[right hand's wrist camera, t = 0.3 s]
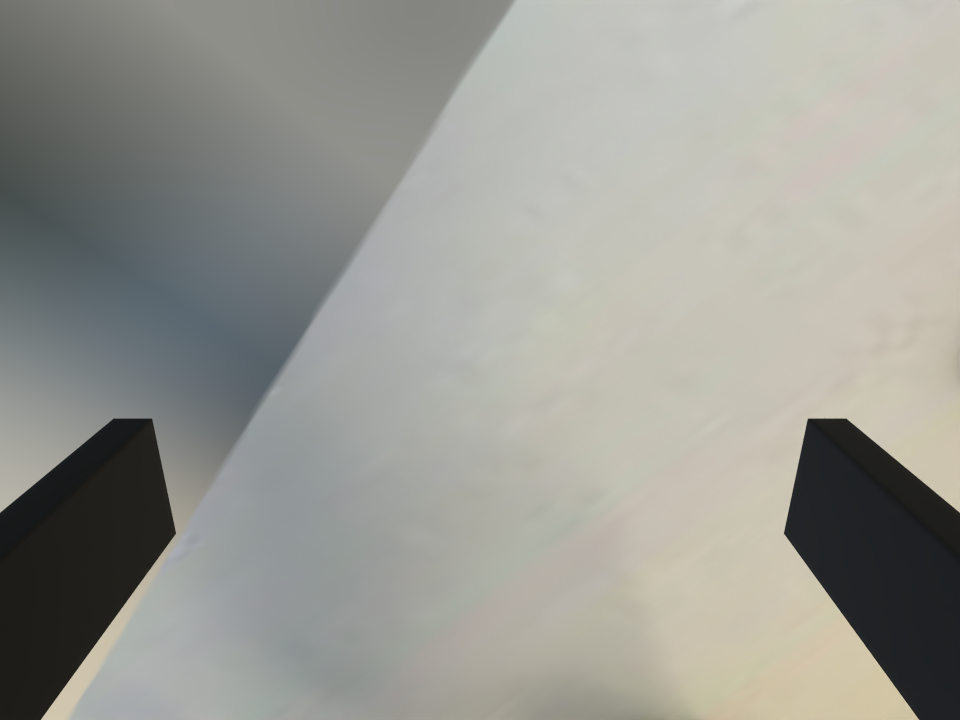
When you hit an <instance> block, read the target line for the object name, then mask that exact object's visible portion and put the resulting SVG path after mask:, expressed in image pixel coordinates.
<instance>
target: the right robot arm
mask: <svg viewBox="0 0 960 720" xmlns="http://www.w3.org/2000/svg"><path fill="white" fill-rule="evenodd" d="M175 534H176V531H175V526H174V522H173V517H172V512H171V507H170V502H169V498H168V493H167V488H166V483H165V479H164V474H163V469H162V464H161V459H160V455H159V450H158V445H157V440H156V435H155V431H154V426H153V421H152V419H113V420H112V421H110V422H109V423H108V424H107V425H106V426H104V427H103V428H102V429H101V430H99V431H98V432H97V433H96V434H95V435H93V436H92V437H91V438H90V439H89V440H87V441H86V442H85V443H84V444H83V445H81V446H80V447H79V448H78V449H77V450H75V451H74V452H73V453H72V454H71V455H69V456H68V457H67V458H66V459H65V460H63V461H62V462H61V463H60V464H59V465H57V466H56V467H55V468H54V469H52V470H51V471H50V472H49V473H48V474H46V475H45V476H44V477H43V478H42V479H40V480H39V481H38V482H37V483H36V484H34V485H33V486H32V487H31V488H30V489H28V490H27V491H26V492H25V493H24V494H22V495H21V496H20V497H19V498H18V499H16V500H15V501H14V502H13V503H12V504H10V505H9V506H8V507H7V508H5V509H4V510H3V511H2V512H1V513H0V720H41V719H42V717H43V716H44V714H45V713H46V712H47V710H48V709H49V708H50V706H51V705H52V703H53V702H54V701H55V699H56V698H57V697H58V695H59V694H60V692H61V691H62V690H63V688H64V687H65V686H66V684H67V683H68V681H69V680H70V679H71V677H72V676H73V675H74V673H75V672H76V670H77V669H78V668H79V666H80V665H81V664H82V662H83V661H84V659H85V658H86V657H87V655H88V654H89V653H90V651H91V650H92V648H93V647H94V646H95V644H96V643H97V642H98V640H99V639H100V637H101V636H102V635H103V633H104V632H105V630H106V629H107V628H108V626H109V625H110V624H111V622H112V621H113V619H114V618H115V617H116V615H117V614H118V613H119V611H120V610H121V608H122V607H123V606H124V604H125V603H126V602H127V600H128V599H129V597H130V596H131V595H132V593H133V592H134V591H135V589H136V588H137V586H138V585H139V584H140V582H141V581H142V580H143V578H144V577H145V575H146V574H147V573H148V571H149V570H150V569H151V567H152V566H153V564H154V563H155V562H156V560H157V559H158V558H159V556H160V555H161V553H162V552H163V551H164V549H165V548H166V547H167V545H168V544H169V542H170V541H171V540H172V538H173V537H174V536H175ZM784 534H785V536H786V537H787V538H788V540H789V541H790V542H791V544H792V545H793V547H794V548H795V549H796V551H797V552H798V553H799V555H800V556H801V558H802V559H803V560H804V562H805V563H806V564H807V566H808V567H809V569H810V570H811V571H812V573H813V574H814V575H815V577H816V578H817V580H818V581H819V582H820V584H821V585H822V586H823V588H824V589H825V591H826V592H827V593H828V595H829V596H830V597H831V599H832V600H833V602H834V603H835V604H836V606H837V607H838V608H839V610H840V611H841V613H842V614H843V615H844V617H845V618H846V619H847V621H848V622H849V624H850V625H851V626H852V628H853V629H854V631H855V632H856V633H857V635H858V636H859V637H860V639H861V640H862V642H863V643H864V644H865V646H866V647H867V648H868V650H869V651H870V653H871V654H872V655H873V657H874V658H875V659H876V661H877V662H878V664H879V665H880V666H881V668H882V669H883V670H884V672H885V673H886V675H887V676H888V677H889V679H890V680H891V681H892V683H893V684H894V686H895V687H896V688H897V690H898V691H899V692H900V694H901V695H902V697H903V698H904V699H905V701H906V702H907V703H908V705H909V706H910V708H911V709H912V710H913V712H914V713H915V714H916V716H917V717H918V719H919V720H960V513H959V512H958V511H957V510H956V509H955V508H953V507H952V506H951V505H950V504H949V503H947V502H946V501H945V500H944V499H942V498H941V497H940V496H939V495H938V494H936V493H935V492H934V491H933V490H932V489H930V488H929V487H928V486H927V485H926V484H924V483H923V482H922V481H921V480H920V479H918V478H917V477H916V476H915V475H914V474H912V473H911V472H910V471H909V470H908V469H906V468H905V467H904V466H903V465H901V464H900V463H899V462H898V461H897V460H895V459H894V458H893V457H892V456H891V455H889V454H888V453H887V452H886V451H885V450H883V449H882V448H881V447H880V446H879V445H877V444H876V443H875V442H874V441H873V440H871V439H870V438H869V437H868V436H867V435H865V434H864V433H863V432H862V431H861V430H859V429H858V428H857V427H856V426H854V425H853V424H852V423H851V422H850V421H848V420H847V419H808V421H807V426H806V431H805V435H804V440H803V445H802V450H801V455H800V459H799V464H798V469H797V474H796V478H795V483H794V488H793V493H792V498H791V502H790V507H789V512H788V517H787V522H786V526H785V531H784Z"/></svg>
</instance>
